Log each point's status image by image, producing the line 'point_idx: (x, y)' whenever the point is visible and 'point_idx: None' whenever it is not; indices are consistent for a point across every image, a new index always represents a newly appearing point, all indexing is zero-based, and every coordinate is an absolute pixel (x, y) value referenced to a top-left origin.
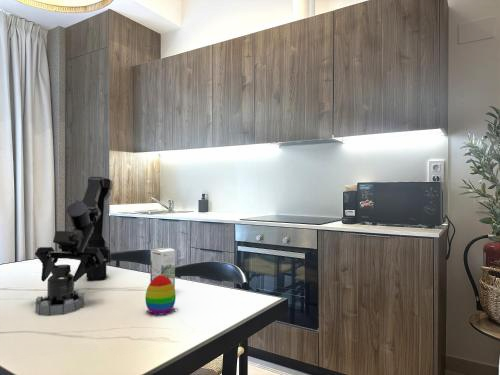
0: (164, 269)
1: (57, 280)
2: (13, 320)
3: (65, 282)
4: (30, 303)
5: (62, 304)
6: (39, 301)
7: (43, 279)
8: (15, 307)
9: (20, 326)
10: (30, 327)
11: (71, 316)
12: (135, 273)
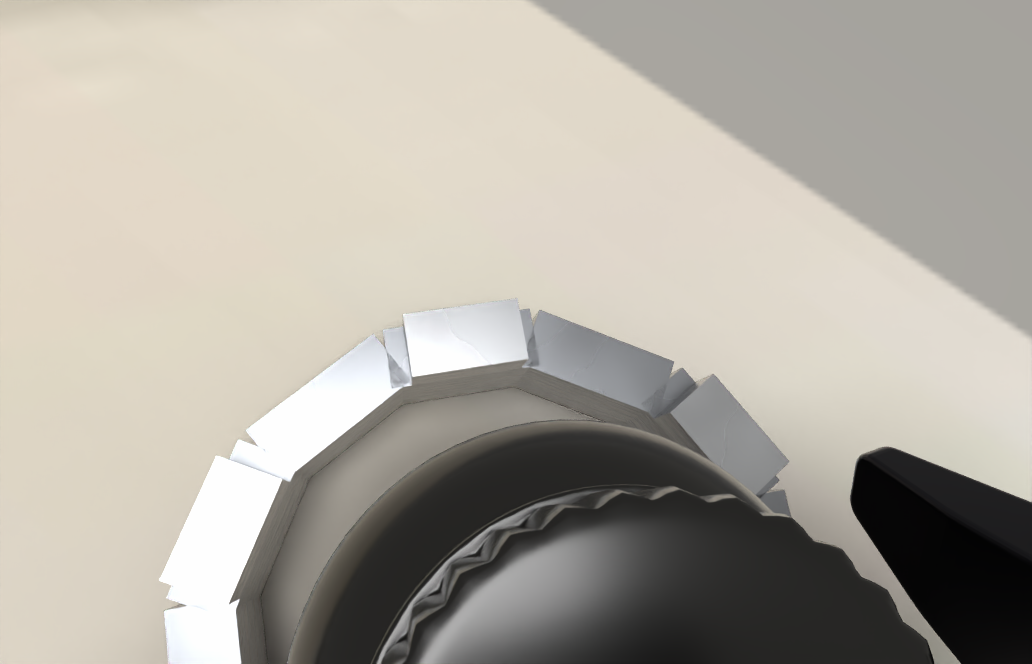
0: None
1: (431, 475)
2: (617, 138)
3: (308, 599)
4: None
5: (270, 449)
6: (667, 408)
7: (868, 484)
8: (993, 421)
9: (399, 48)
10: (279, 55)
11: (99, 428)
12: None
